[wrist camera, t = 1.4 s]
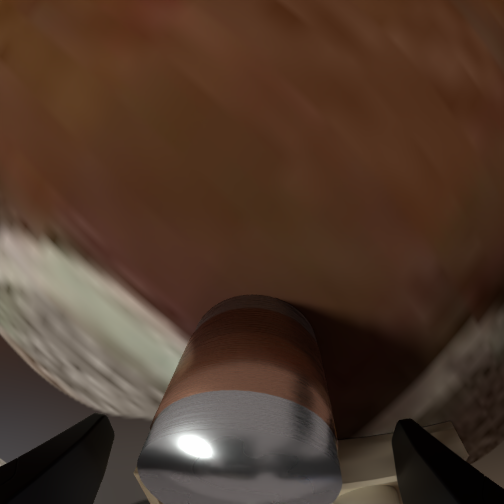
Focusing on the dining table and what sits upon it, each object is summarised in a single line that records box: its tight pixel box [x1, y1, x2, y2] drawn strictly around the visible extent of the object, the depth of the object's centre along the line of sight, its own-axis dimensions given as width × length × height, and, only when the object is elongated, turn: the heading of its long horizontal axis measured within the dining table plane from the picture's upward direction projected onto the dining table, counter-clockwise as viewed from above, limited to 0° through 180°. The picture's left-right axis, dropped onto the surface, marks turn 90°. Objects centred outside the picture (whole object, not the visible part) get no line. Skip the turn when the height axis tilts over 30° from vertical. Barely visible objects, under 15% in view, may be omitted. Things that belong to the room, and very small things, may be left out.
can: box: [137, 295, 342, 504], centre depth 10 cm, size 5×5×7 cm
